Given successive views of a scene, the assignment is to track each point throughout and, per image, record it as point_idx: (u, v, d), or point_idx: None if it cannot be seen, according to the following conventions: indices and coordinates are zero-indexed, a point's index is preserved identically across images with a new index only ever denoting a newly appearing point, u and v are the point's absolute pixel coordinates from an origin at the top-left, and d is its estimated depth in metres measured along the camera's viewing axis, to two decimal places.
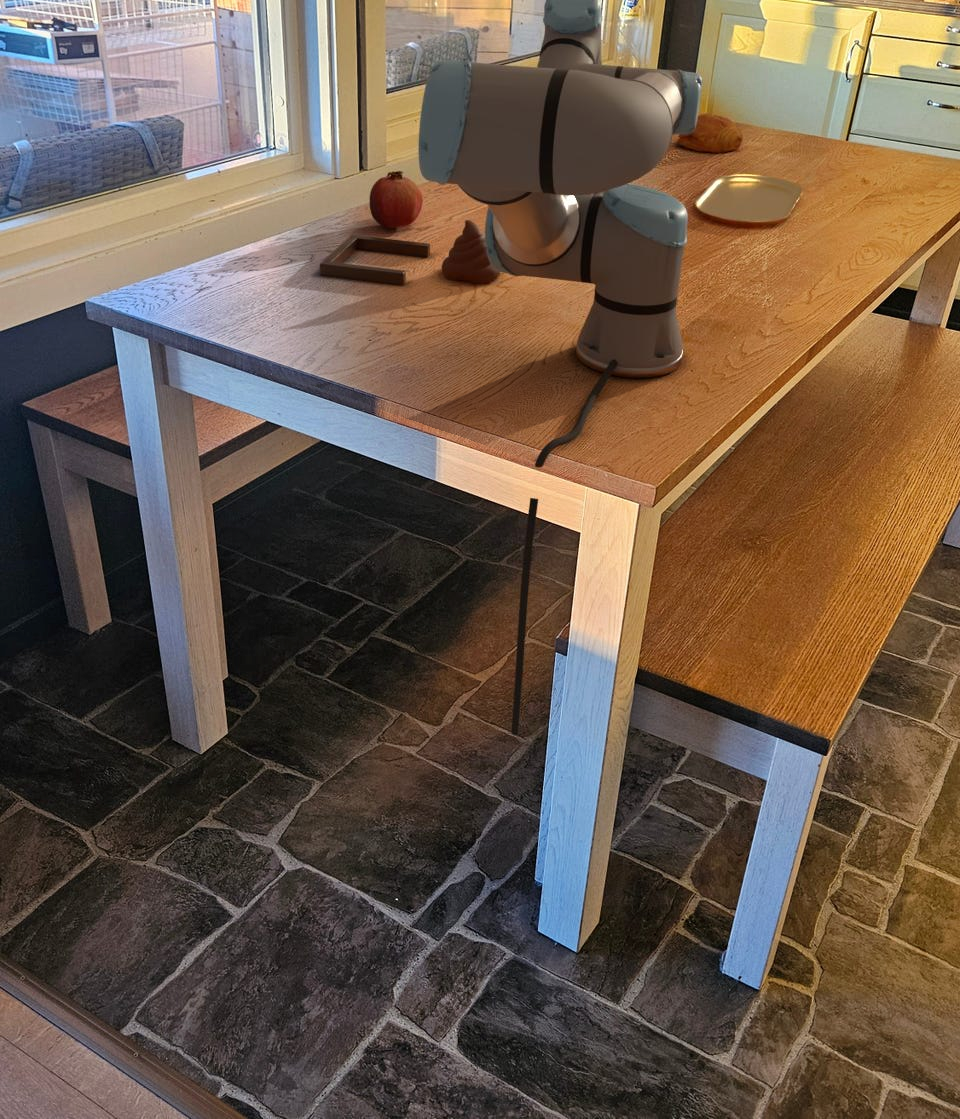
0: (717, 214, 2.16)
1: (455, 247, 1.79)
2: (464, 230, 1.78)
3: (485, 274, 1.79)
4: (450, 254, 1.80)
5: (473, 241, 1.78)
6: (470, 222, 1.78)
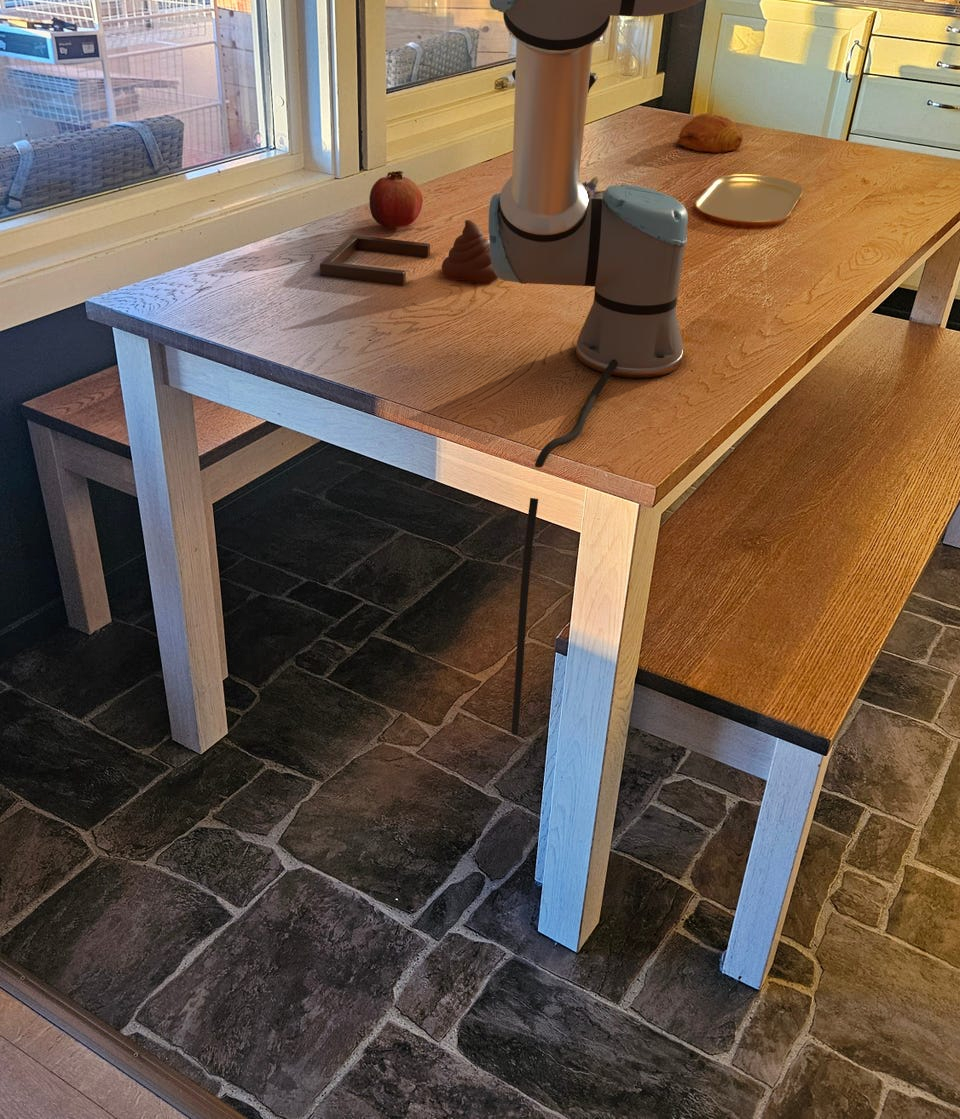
0: (717, 214, 2.16)
1: (455, 247, 1.79)
2: (464, 230, 1.78)
3: (485, 274, 1.79)
4: (450, 254, 1.80)
5: (473, 241, 1.78)
6: (470, 222, 1.78)
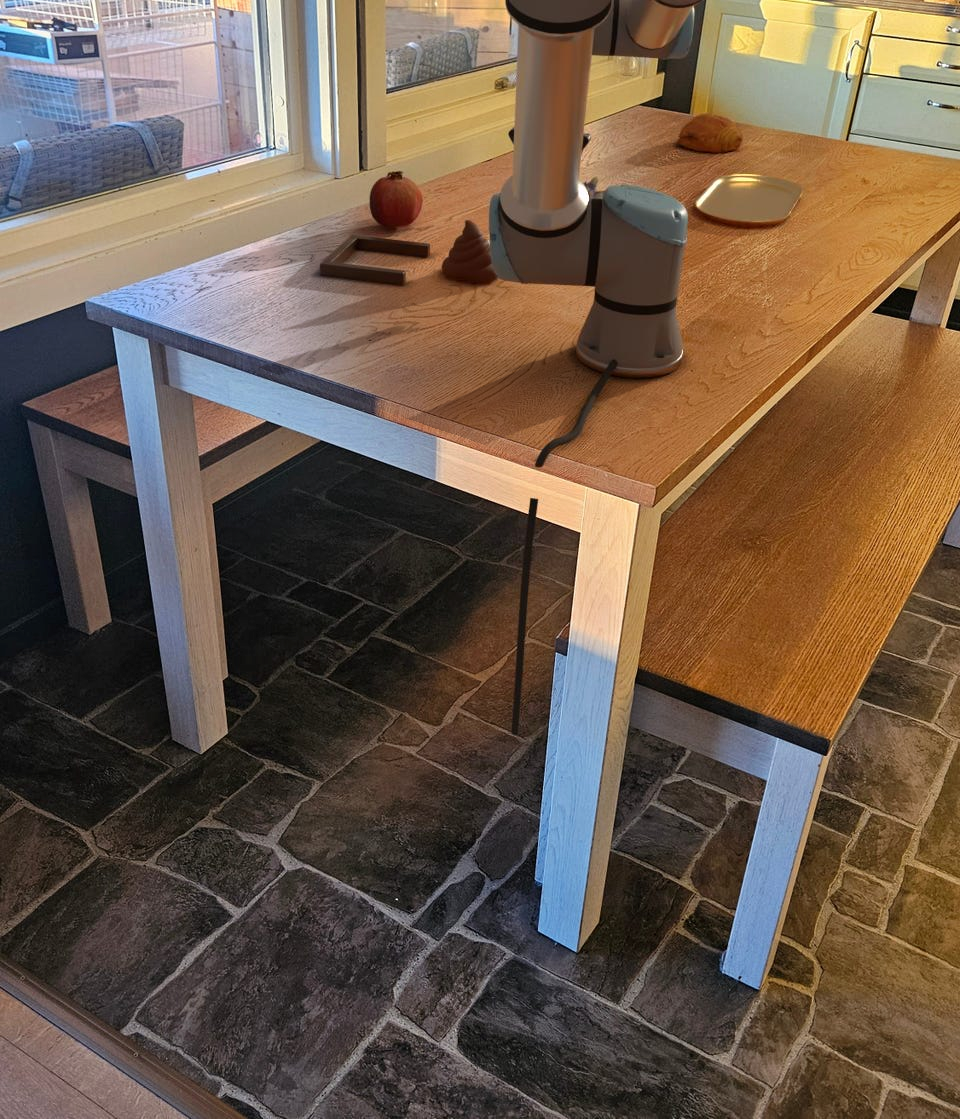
0: (717, 214, 2.16)
1: (455, 247, 1.79)
2: (464, 230, 1.78)
3: (485, 274, 1.79)
4: (450, 254, 1.80)
5: (473, 241, 1.78)
6: (470, 222, 1.78)
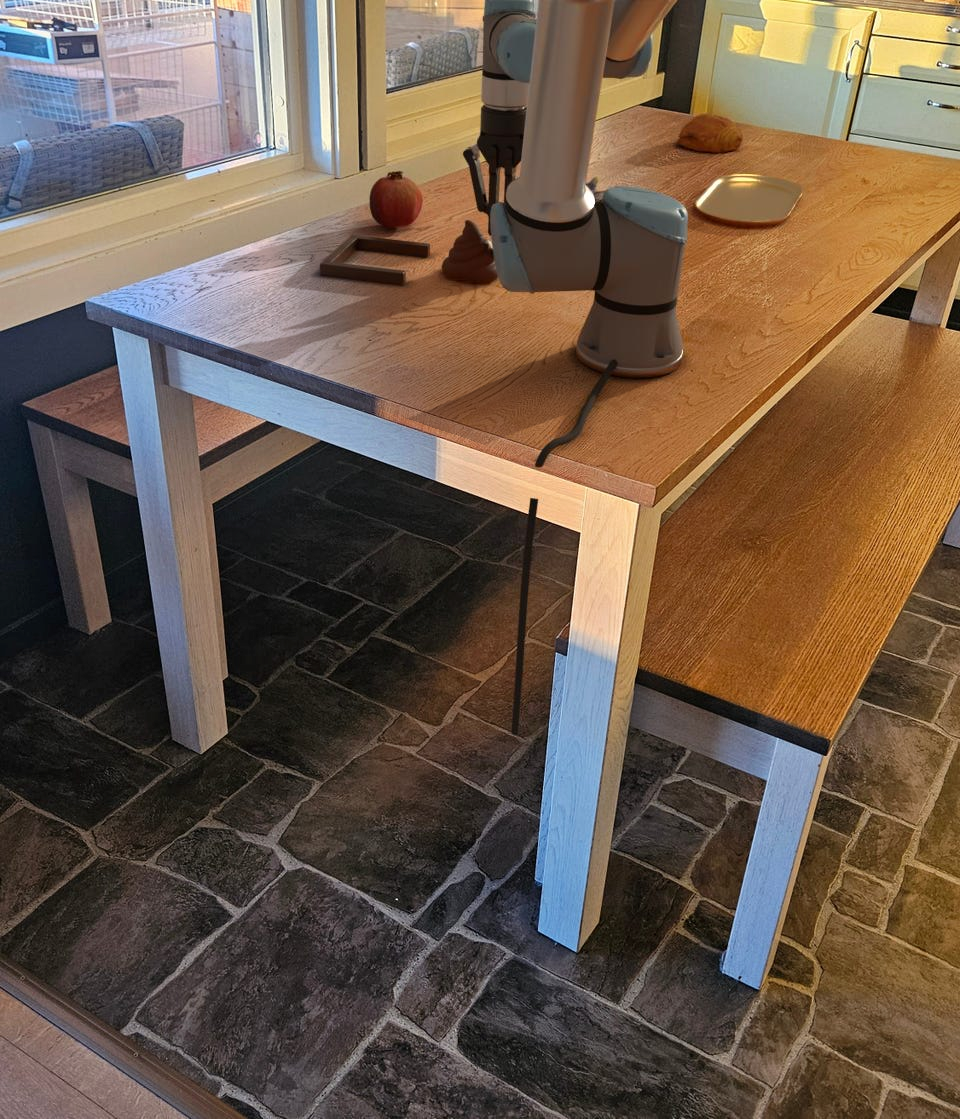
0: (717, 214, 2.16)
1: (455, 247, 1.79)
2: (464, 230, 1.78)
3: (485, 274, 1.79)
4: (450, 254, 1.80)
5: (473, 241, 1.78)
6: (470, 222, 1.78)
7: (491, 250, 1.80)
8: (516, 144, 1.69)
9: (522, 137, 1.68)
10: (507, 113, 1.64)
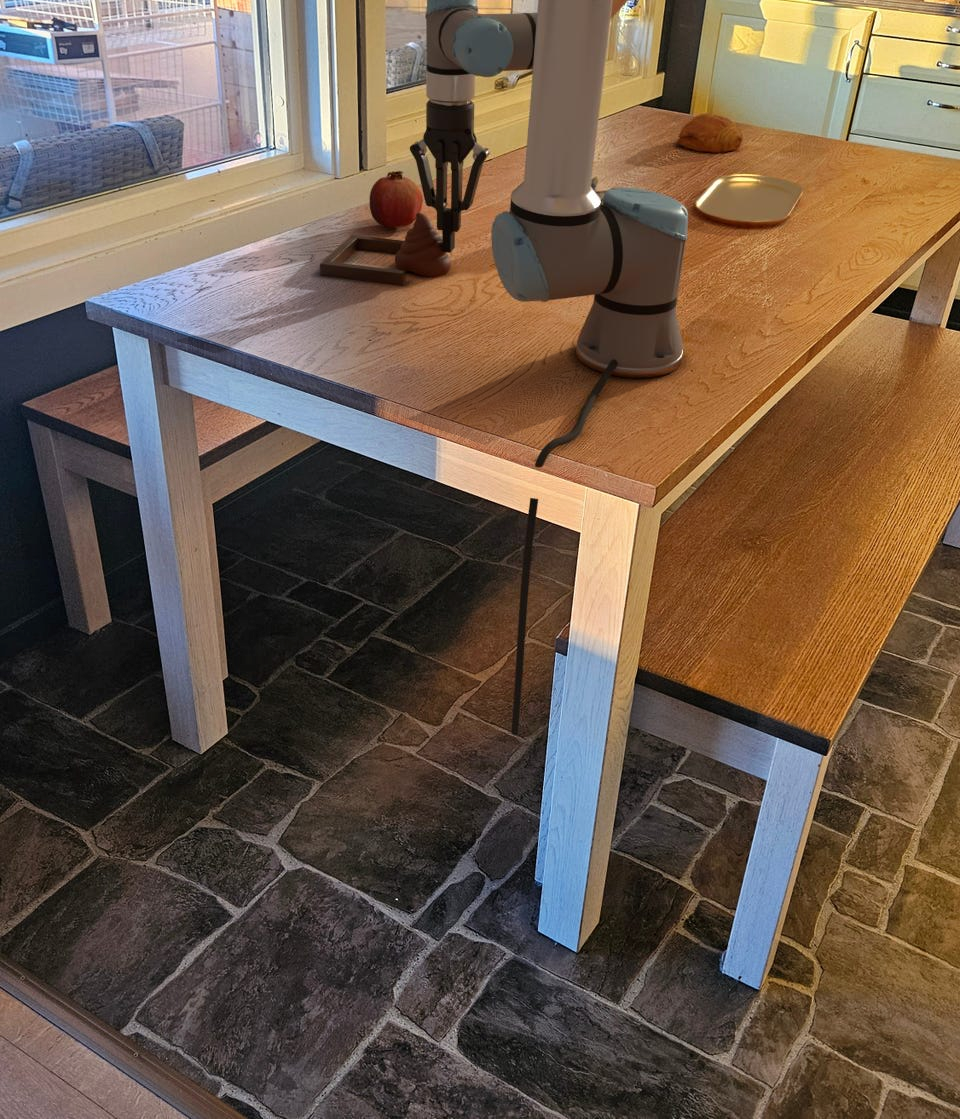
0: (717, 214, 2.16)
1: (405, 238, 1.82)
2: (414, 223, 1.81)
3: (430, 267, 1.81)
4: (401, 245, 1.83)
5: (421, 233, 1.80)
6: (421, 215, 1.80)
7: (440, 244, 1.81)
8: (462, 139, 1.70)
9: (467, 132, 1.70)
10: (451, 108, 1.66)
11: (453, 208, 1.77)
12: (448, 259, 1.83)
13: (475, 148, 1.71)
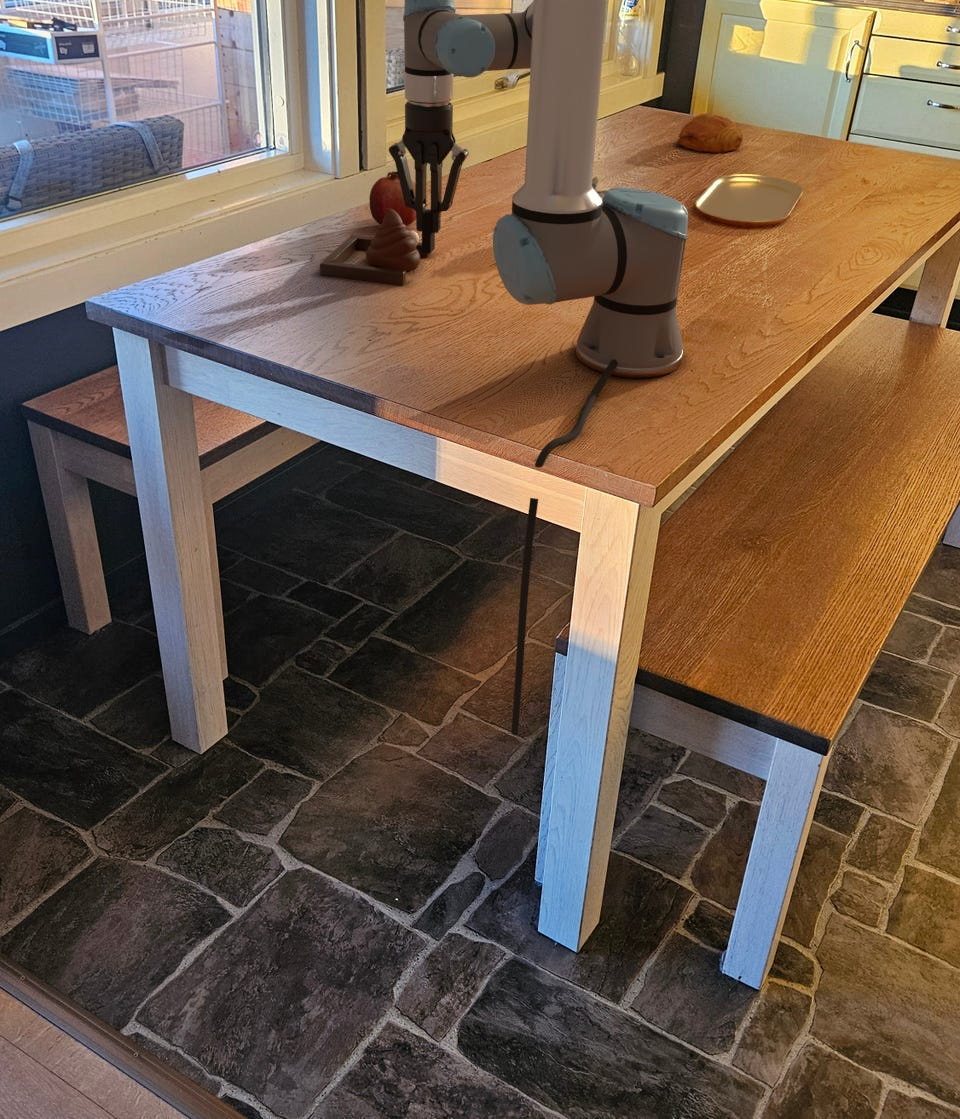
0: (717, 214, 2.16)
1: (375, 233, 1.84)
2: (384, 218, 1.82)
3: (396, 263, 1.82)
4: (371, 240, 1.85)
5: (388, 229, 1.81)
6: (390, 211, 1.82)
7: (407, 240, 1.82)
8: (441, 140, 1.71)
9: (446, 133, 1.70)
10: (430, 109, 1.67)
11: (433, 209, 1.77)
12: (416, 256, 1.84)
13: (454, 149, 1.72)
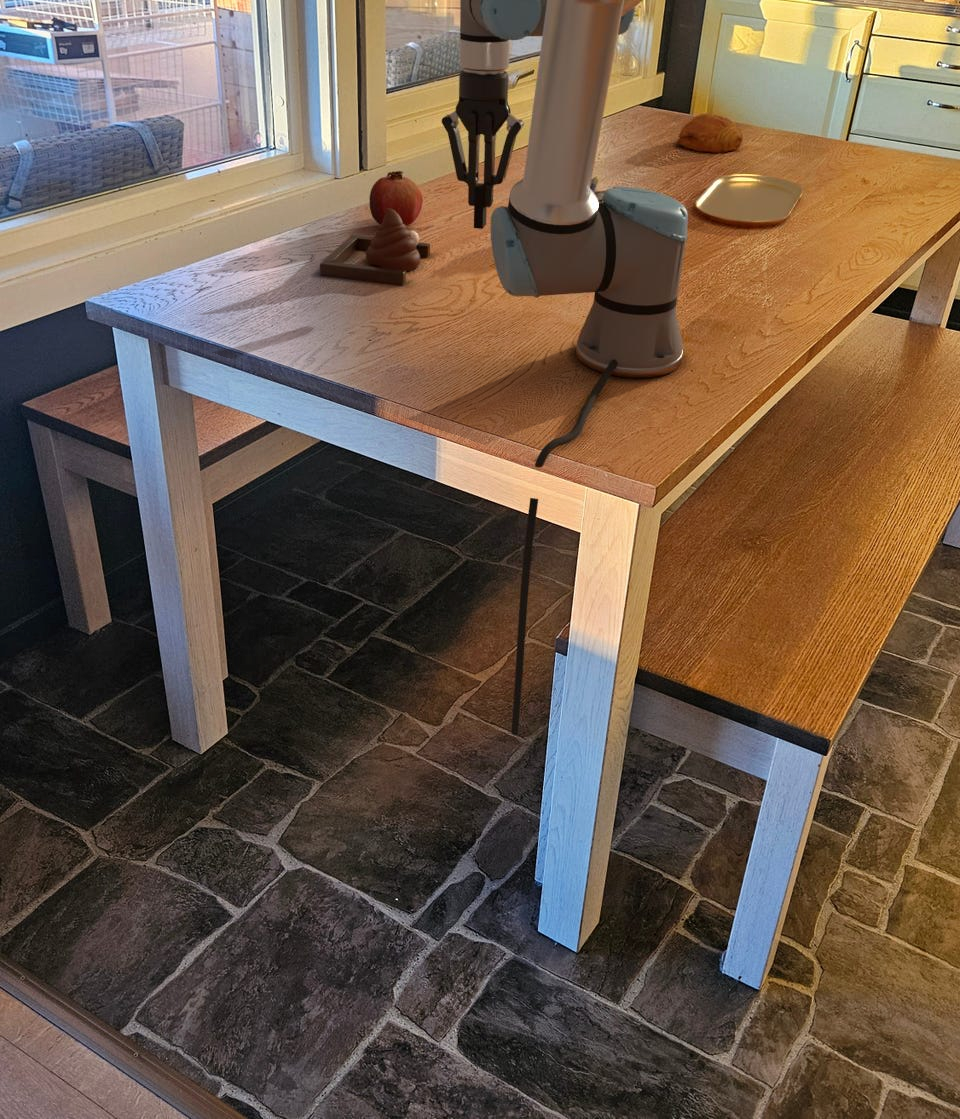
0: (717, 214, 2.16)
1: (375, 233, 1.84)
2: (384, 218, 1.82)
3: (396, 263, 1.82)
4: (371, 240, 1.85)
5: (388, 229, 1.81)
6: (390, 211, 1.82)
7: (407, 240, 1.82)
8: (496, 109, 1.66)
9: (501, 102, 1.66)
10: (486, 77, 1.62)
11: (486, 182, 1.72)
12: (416, 256, 1.84)
13: (509, 119, 1.67)
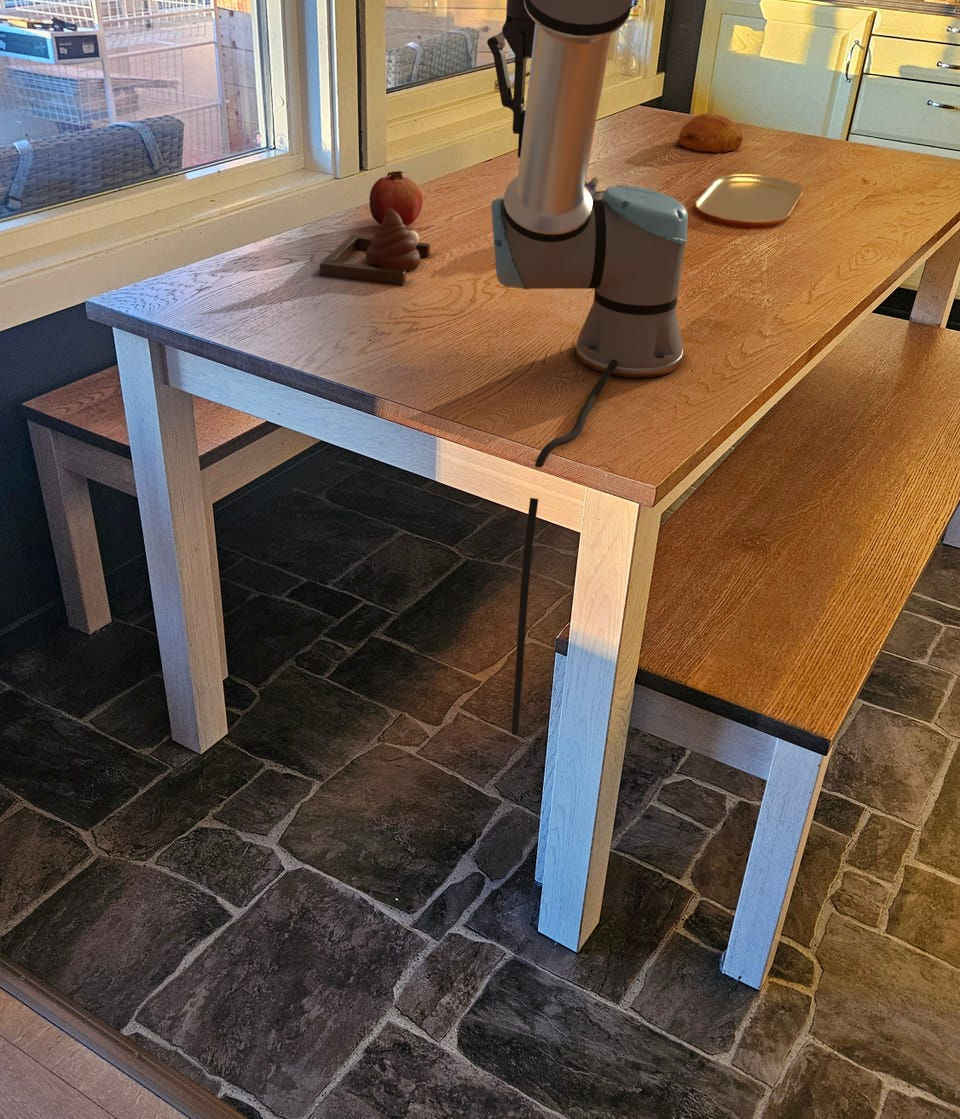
0: (717, 214, 2.16)
1: (375, 233, 1.84)
2: (384, 218, 1.82)
3: (396, 263, 1.82)
4: (371, 240, 1.85)
5: (388, 229, 1.81)
6: (390, 211, 1.82)
7: (407, 240, 1.82)
8: None
9: None
10: None
11: None
12: (416, 256, 1.84)
13: None
